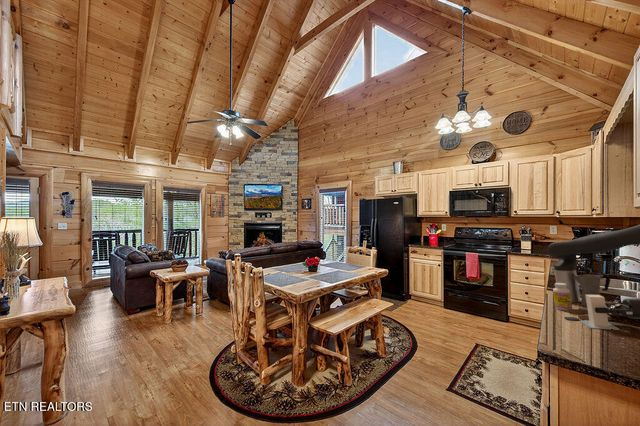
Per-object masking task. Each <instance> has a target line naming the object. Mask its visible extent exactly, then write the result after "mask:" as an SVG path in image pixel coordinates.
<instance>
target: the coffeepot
mask: <svg viewBox="0 0 640 426" xmlns="http://www.w3.org/2000/svg"><path fill="white" fill-rule="evenodd" d="M573 278H574V279H575V280H576V281H577V282H578V285H579V288H580V289H581V298H580V300H581V302H580V303H581V305H582V306H584V307H586V305H585V302H586V296H585V295H600V296H602V295H601V292H600V289H601V280H603V279H605V284H604V288H602V289H601V291H603V292H607V291H608V290H609V286H610V282H611V277H610V276H609V275H607V274H592V273H591V272H590V270H585V273H583V274H578V275H577V276H574V277H573Z"/></svg>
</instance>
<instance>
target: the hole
mask: <svg viewBox="0 0 640 426" xmlns="http://www.w3.org/2000/svg"><path fill="white" fill-rule="evenodd" d="M564 320H566V321H570V322H572V321H573V322H579V321H580V319H579V318H578V317H574V316H565V317H564Z"/></svg>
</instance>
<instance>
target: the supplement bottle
mask: <svg viewBox="0 0 640 426" xmlns="http://www.w3.org/2000/svg"><path fill="white" fill-rule="evenodd" d="M566 287H567V284H565V283H556V282H555V283H554V288H553V289H552V292H553V300H554V307H555V309H557V310H560V311H569V309H573V304H572V303H573V302H571V295H570V290H569V289H567V288H566Z"/></svg>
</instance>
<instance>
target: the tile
mask: <svg viewBox="0 0 640 426" xmlns="http://www.w3.org/2000/svg"><path fill="white" fill-rule="evenodd" d="M579 321H580V322H581V323H582V324H583V325H585V326H586V327H587V328H589V329H596V330H610V331H611V329H613V331H615V330H616V331H619V330H620V328H618V327H616V326H615V325H613V324H611V323H610V322H608V324H609V327H604V326H594V325H592V324H591V323H590V322H589V320H579ZM580 322H579V323H580Z"/></svg>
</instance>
